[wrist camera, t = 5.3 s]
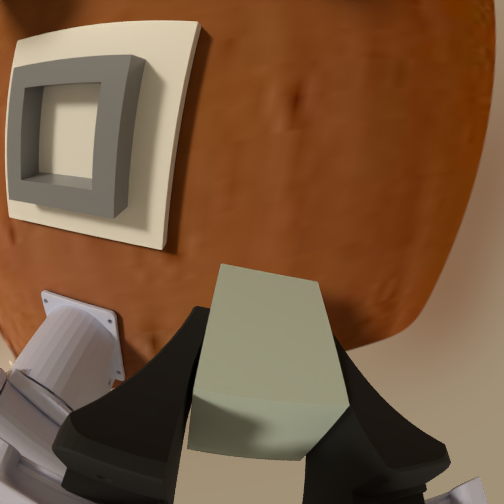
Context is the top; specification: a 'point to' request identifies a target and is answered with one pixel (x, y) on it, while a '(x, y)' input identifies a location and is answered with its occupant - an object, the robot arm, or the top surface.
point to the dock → (98, 127)
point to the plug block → (265, 369)
